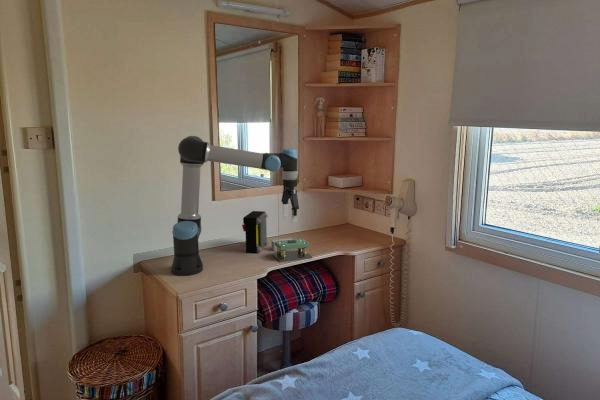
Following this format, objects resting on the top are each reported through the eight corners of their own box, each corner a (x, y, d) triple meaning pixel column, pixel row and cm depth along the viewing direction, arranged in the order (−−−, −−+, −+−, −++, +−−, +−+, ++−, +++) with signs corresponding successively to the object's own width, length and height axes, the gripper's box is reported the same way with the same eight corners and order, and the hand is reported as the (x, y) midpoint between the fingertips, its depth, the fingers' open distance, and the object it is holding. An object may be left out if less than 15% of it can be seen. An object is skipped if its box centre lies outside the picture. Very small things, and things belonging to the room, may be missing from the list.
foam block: (274, 251, 243) (274, 242, 242) (271, 248, 248) (271, 240, 247) (294, 248, 247) (294, 240, 246) (291, 246, 252) (291, 238, 251)
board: (280, 250, 225) (280, 245, 225) (274, 245, 234) (274, 239, 234) (309, 246, 231) (309, 241, 230) (302, 241, 240) (302, 236, 240)
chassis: (280, 262, 225) (279, 247, 223) (272, 255, 237) (272, 240, 235) (312, 258, 231) (312, 243, 230) (303, 251, 243) (303, 237, 241)
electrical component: (260, 254, 239) (259, 218, 235) (242, 252, 241) (241, 217, 237) (269, 244, 256) (268, 211, 252) (252, 243, 258) (251, 210, 254)
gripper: (305, 181, 215) (305, 223, 219) (288, 175, 238) (288, 213, 242) (291, 182, 213) (291, 224, 217) (275, 176, 236) (275, 214, 240)
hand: (289, 218), depth 230 cm, fingers open, 13 cm apart
